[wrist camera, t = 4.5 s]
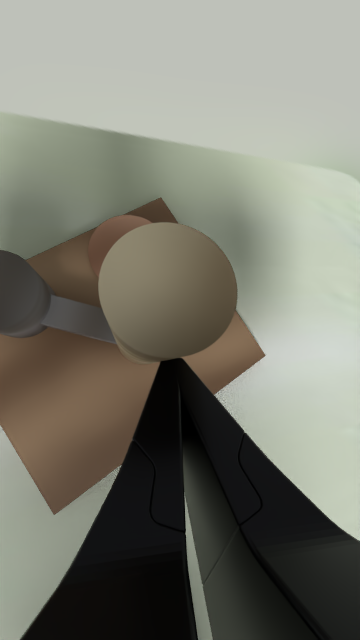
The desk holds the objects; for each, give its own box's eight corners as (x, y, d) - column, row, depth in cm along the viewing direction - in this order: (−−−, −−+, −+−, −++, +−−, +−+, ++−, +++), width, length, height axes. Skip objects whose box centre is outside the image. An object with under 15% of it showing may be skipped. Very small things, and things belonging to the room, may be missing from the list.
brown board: (259, 356, 18) (267, 355, 17) (58, 507, 14) (53, 517, 13) (159, 203, 19) (161, 194, 18) (-61, 307, 15) (-74, 303, 14)
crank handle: (-24, 328, 14) (-374, 235, 4) (2, 268, 15) (-242, 73, 5) (162, 373, 15) (221, 381, 6) (176, 316, 16) (248, 239, 7)
